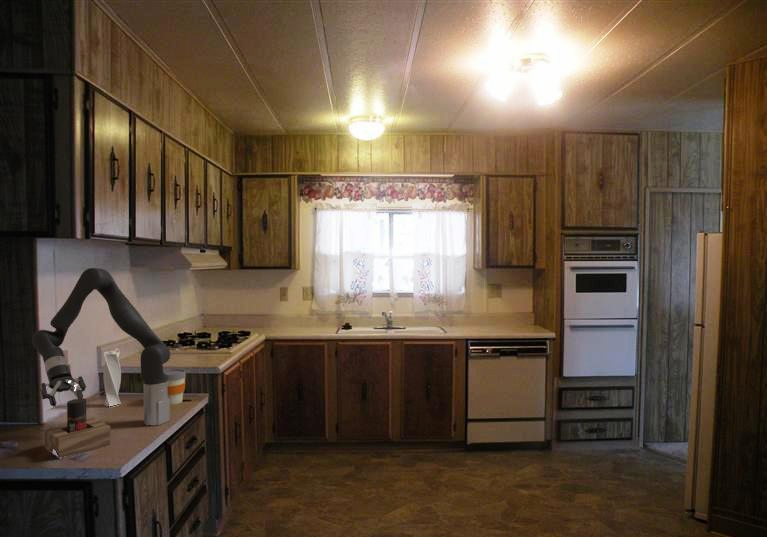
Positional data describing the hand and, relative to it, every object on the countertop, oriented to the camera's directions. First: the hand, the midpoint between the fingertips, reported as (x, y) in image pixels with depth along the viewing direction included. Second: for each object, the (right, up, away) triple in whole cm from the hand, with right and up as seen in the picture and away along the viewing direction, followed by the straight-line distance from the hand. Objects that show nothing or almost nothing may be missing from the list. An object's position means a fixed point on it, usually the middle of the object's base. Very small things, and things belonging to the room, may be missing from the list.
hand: (68, 402), depth 172 cm
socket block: (+10, -14, -8) cm, 19 cm away
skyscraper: (-9, -15, +44) cm, 47 cm away
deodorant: (+9, -12, -8) cm, 17 cm away
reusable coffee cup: (+18, -14, +47) cm, 53 cm away
